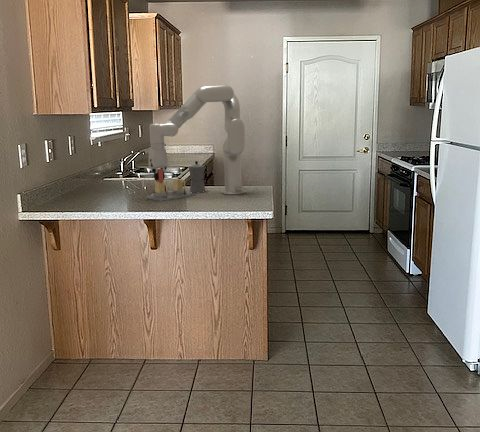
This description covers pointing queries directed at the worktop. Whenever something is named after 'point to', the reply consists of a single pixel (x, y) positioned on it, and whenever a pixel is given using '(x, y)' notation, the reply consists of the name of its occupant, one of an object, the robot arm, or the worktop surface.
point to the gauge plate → (173, 196)
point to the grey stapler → (165, 186)
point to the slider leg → (160, 183)
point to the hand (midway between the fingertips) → (159, 179)
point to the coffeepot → (197, 178)
